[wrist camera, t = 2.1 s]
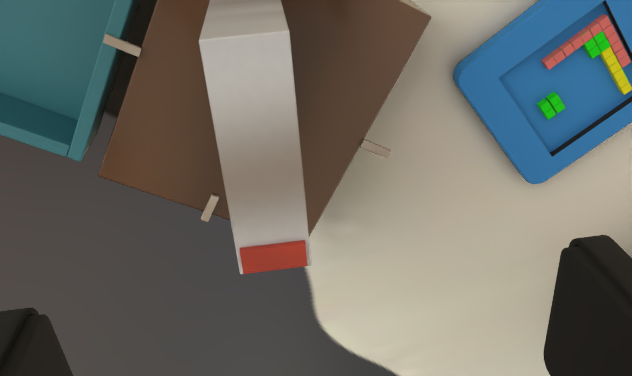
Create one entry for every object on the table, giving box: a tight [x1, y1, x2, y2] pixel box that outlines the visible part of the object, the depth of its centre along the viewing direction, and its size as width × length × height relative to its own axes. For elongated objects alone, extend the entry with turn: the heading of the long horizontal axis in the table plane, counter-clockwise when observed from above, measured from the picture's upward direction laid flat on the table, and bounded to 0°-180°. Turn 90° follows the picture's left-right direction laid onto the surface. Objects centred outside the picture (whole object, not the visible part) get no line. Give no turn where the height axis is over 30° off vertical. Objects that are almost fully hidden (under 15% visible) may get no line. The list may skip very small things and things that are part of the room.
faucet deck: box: [98, 0, 431, 236], centre depth 24 cm, size 13×13×3 cm
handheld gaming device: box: [453, 0, 632, 184], centre depth 26 cm, size 8×1×15 cm
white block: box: [199, 0, 311, 274], centre depth 20 cm, size 8×3×6 cm, turn 5°
